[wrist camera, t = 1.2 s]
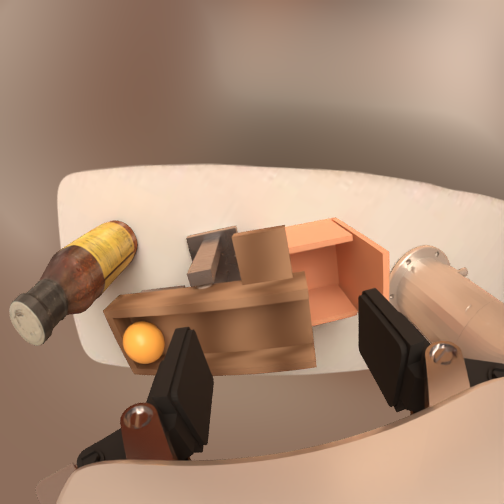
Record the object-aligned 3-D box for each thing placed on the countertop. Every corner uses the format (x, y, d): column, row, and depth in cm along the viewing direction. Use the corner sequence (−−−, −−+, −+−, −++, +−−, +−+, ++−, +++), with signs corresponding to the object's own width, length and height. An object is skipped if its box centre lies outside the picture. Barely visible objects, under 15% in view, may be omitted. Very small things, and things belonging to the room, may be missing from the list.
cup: (335, 217, 33) (389, 251, 20) (342, 283, 36) (386, 343, 23) (262, 231, 34) (276, 276, 20) (275, 298, 36) (292, 368, 23)
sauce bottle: (100, 214, 32) (-8, 268, 13) (142, 224, 33) (47, 292, 14) (97, 261, 34) (6, 339, 15) (137, 271, 35) (59, 366, 16)
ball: (160, 310, 24) (148, 334, 21) (174, 345, 26) (165, 371, 22) (125, 315, 25) (109, 338, 21) (140, 348, 26) (127, 373, 22)
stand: (236, 225, 33) (232, 257, 22) (255, 311, 37) (260, 370, 26) (188, 235, 34) (162, 271, 22) (212, 319, 37) (202, 378, 26)
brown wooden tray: (295, 216, 23) (299, 234, 18) (311, 330, 27) (316, 367, 22) (118, 249, 26) (86, 270, 21) (154, 343, 30) (134, 374, 24)
